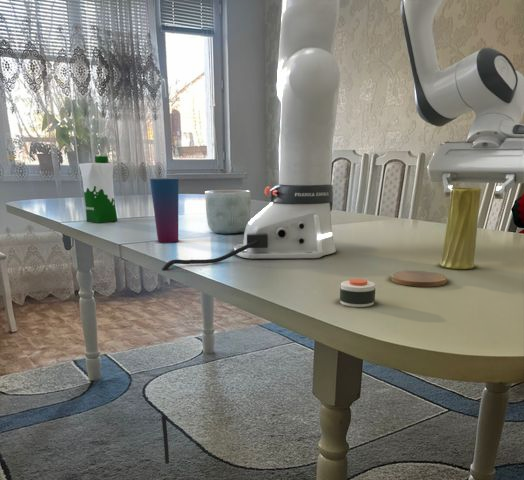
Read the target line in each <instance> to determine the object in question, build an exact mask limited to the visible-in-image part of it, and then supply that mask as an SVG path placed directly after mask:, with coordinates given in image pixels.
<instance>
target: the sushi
mask: <svg viewBox="0 0 524 480" xmlns="http://www.w3.org/2000/svg"><path fill="white" fill-rule="evenodd" d="M375 301H376V284H375V283H374V282H373V281H369V280H367V279H363V278H350V279H349V280H344V281H342V282H341V283H340V287H339V302H340V304H341V305H344V306H347V307H353V308H367V307H371V306H373V305H374V304H375Z"/></svg>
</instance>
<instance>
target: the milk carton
mask: <svg viewBox="0 0 524 480" xmlns="http://www.w3.org/2000/svg"><path fill="white" fill-rule="evenodd" d="M78 166H79V169H80V174H81V179H82V187H83V195H84V204H85V215H86V217H85V218H86V222H89V223H96V224H101V223H103V224H104V223H110V222H118V214H117V209H116V208H117V207H116V201H115V189H114V179H113V177H114V176H113V175H114V163H113V162H109V157H108V156H106V155H105V156H104V155H103V156H101V155H100V156H97V155H96V156H94V162H85V163H78Z"/></svg>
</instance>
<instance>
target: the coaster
mask: <svg viewBox="0 0 524 480" xmlns="http://www.w3.org/2000/svg"><path fill="white" fill-rule="evenodd" d="M391 281H392V282H393V283H395V284H398V285H403V286H406V287H407V286H408V287H419V288H433V287H434V288H435V287H439V286H444V285H446V284H447V283H448V276H446V275H445V274H442V273H438V272H434V271H433V272H432V271H424V270H402V271H397V272H394V273H392V274H391Z"/></svg>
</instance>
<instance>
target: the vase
mask: <svg viewBox="0 0 524 480" xmlns="http://www.w3.org/2000/svg"><path fill="white" fill-rule="evenodd" d="M481 193H482V188H481V187H453V188H451V193H450V197H449V206H448V214H447V218H446V226H445V227H446V229H445V235H444V241H443V248H442V252H441V253H442V255H441V260H440V266H441V267H442V268H445V269H451V270H471V269H474V268H475V253H476V246H477V233H478V226H479V225H478V223H479V214H480V213H479V212H480V204H481V203H480V202H481Z"/></svg>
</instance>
